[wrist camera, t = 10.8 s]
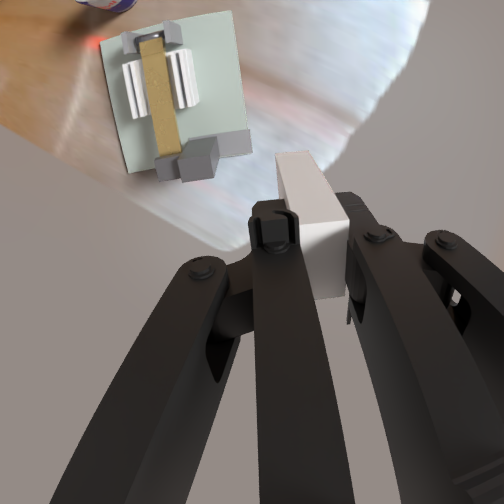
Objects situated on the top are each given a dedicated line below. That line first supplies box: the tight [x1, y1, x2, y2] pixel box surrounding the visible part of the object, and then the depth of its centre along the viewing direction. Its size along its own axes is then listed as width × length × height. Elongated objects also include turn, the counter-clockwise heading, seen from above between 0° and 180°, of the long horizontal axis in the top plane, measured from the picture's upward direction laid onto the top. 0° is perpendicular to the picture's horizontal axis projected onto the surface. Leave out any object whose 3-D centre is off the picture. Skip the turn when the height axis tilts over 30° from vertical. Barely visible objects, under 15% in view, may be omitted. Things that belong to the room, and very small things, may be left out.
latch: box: [154, 136, 220, 183], centre depth 42 cm, size 3×8×10 cm, turn 97°
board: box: [100, 10, 253, 173], centre depth 39 cm, size 22×20×8 cm
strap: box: [135, 30, 183, 157], centre depth 37 cm, size 19×4×1 cm, turn 7°
